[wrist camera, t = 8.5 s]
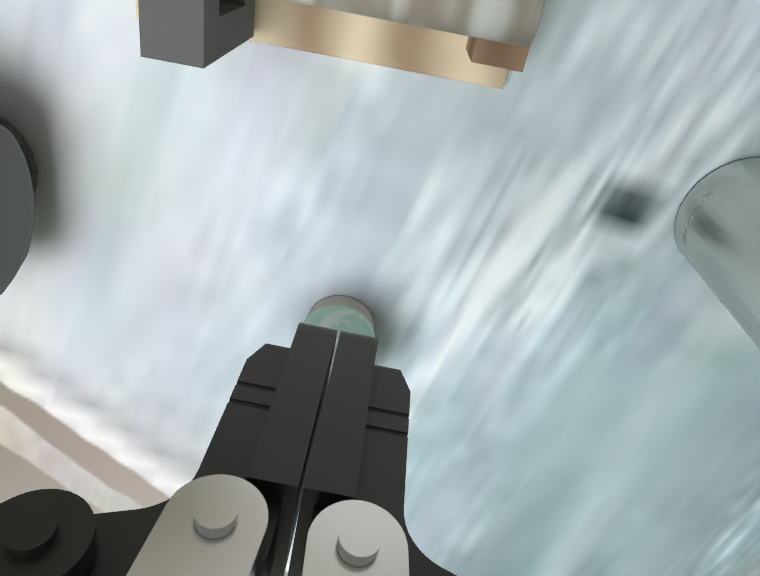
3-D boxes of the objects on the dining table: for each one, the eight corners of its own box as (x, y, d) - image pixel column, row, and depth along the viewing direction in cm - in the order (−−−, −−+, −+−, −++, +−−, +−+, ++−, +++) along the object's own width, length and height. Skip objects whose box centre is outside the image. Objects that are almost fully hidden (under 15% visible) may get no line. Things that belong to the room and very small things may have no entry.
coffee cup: (406, 339, 51) (403, 442, 41) (325, 373, 53) (303, 477, 43) (357, 265, 47) (341, 357, 37) (273, 305, 50) (235, 401, 40)
